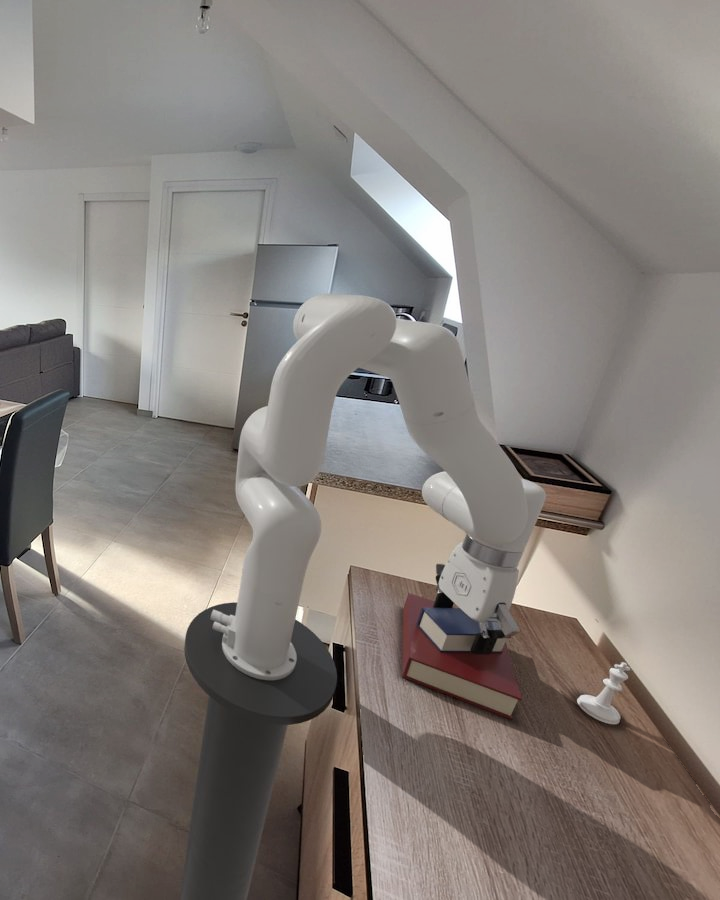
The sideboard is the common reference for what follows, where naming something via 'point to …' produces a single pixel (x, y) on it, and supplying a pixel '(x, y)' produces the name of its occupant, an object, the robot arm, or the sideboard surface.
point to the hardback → (457, 667)
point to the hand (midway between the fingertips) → (459, 631)
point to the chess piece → (605, 697)
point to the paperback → (452, 629)
